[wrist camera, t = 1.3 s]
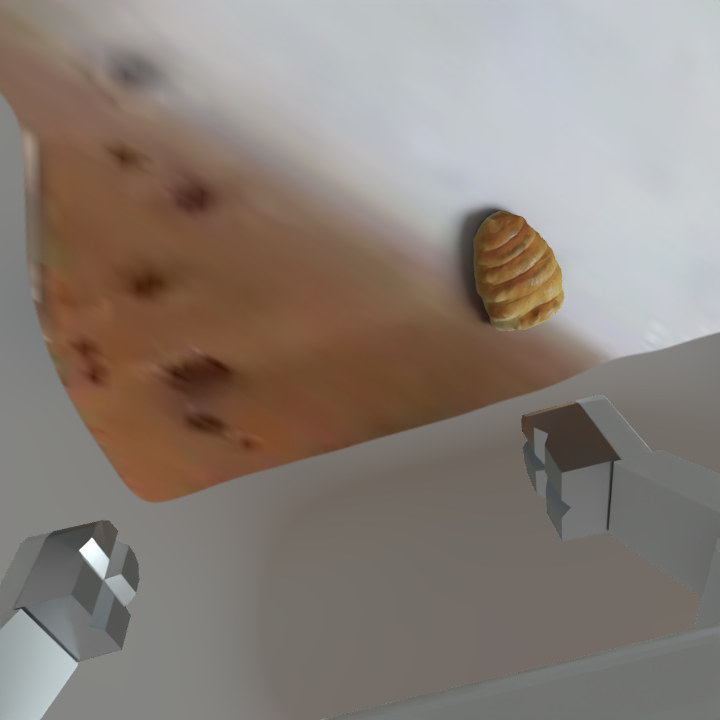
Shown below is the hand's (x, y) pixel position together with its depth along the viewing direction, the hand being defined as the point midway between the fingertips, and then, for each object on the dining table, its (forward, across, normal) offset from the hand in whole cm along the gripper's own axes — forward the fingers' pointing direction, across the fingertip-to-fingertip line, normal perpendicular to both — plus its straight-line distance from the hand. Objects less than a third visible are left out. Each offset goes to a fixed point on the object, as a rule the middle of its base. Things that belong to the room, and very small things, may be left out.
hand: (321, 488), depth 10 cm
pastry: (+32, -14, +14) cm, 37 cm away
